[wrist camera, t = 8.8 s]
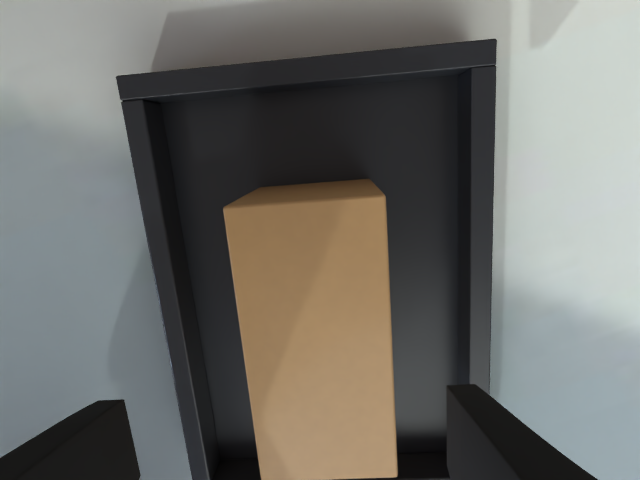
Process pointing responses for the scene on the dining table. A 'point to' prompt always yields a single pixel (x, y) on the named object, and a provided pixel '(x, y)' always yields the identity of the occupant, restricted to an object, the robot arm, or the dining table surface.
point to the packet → (316, 328)
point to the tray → (315, 167)
